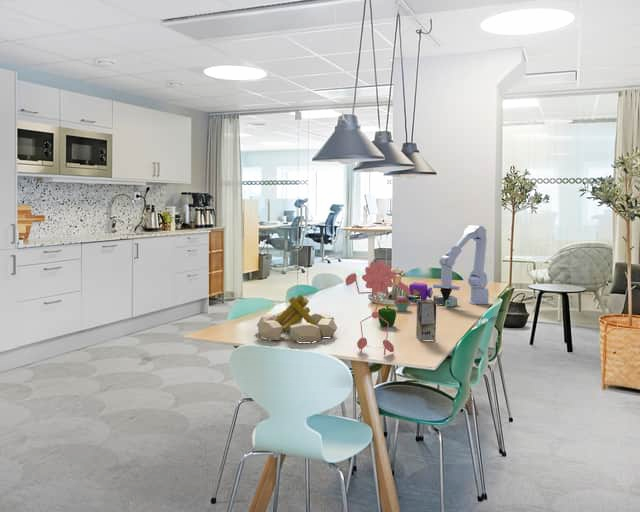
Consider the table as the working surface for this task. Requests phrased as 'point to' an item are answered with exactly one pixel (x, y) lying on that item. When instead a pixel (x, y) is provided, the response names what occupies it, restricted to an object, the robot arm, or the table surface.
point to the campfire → (297, 323)
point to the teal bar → (451, 302)
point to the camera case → (441, 299)
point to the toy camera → (420, 290)
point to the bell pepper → (387, 316)
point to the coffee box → (426, 320)
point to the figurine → (377, 280)
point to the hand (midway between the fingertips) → (445, 302)
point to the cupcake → (402, 303)
